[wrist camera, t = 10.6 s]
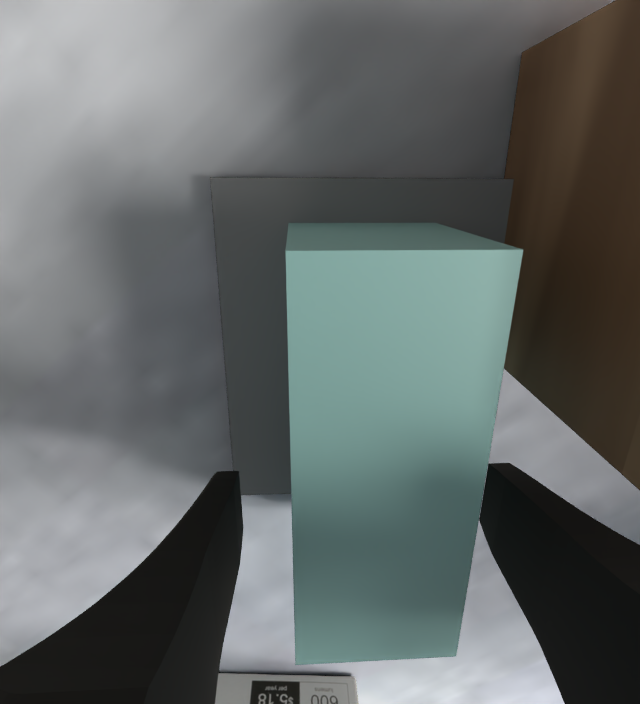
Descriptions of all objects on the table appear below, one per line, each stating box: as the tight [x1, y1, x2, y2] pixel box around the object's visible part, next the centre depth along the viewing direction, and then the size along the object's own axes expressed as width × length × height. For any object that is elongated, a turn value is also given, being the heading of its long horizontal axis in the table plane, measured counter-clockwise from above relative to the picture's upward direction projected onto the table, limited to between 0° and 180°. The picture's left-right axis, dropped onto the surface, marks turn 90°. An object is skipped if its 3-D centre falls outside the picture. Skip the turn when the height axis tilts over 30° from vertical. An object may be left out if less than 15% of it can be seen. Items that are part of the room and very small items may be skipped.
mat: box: [210, 177, 514, 495], centre depth 14 cm, size 8×10×1 cm
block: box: [286, 223, 523, 665], centre depth 12 cm, size 4×10×5 cm, turn 0°
